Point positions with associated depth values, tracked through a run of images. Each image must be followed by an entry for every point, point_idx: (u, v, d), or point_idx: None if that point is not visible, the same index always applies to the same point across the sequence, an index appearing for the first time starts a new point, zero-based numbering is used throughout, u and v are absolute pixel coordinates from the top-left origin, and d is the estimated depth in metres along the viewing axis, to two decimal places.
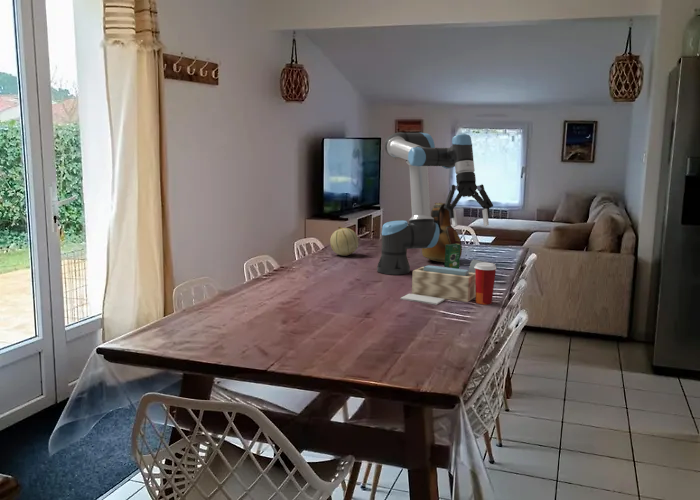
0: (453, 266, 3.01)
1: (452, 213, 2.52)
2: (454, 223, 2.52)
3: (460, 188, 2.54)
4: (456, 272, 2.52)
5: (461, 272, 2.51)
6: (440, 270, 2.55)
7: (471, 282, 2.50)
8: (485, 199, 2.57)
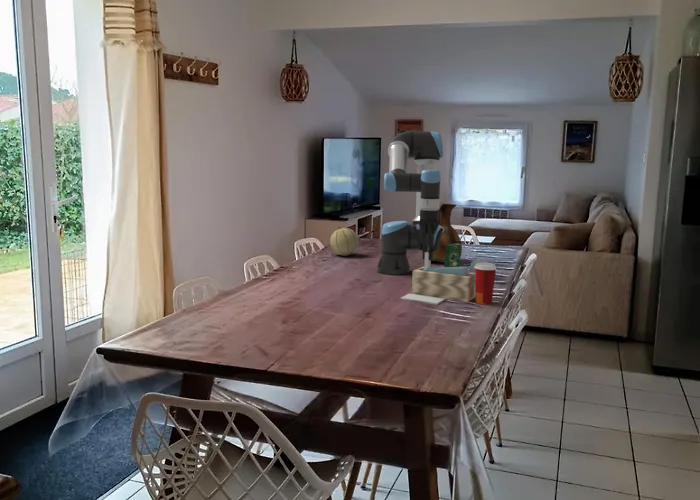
0: (453, 266, 3.01)
1: (424, 255, 2.59)
2: None
3: (421, 225, 2.57)
4: (455, 270, 2.52)
5: (460, 269, 2.51)
6: (439, 270, 2.55)
7: (471, 282, 2.50)
8: None
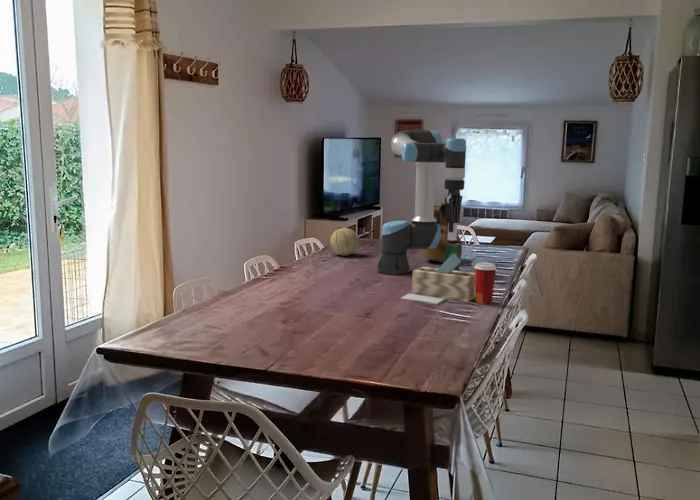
0: None
1: None
2: None
3: None
4: (445, 263, 2.53)
5: (448, 259, 2.52)
6: None
7: (471, 282, 2.50)
8: None
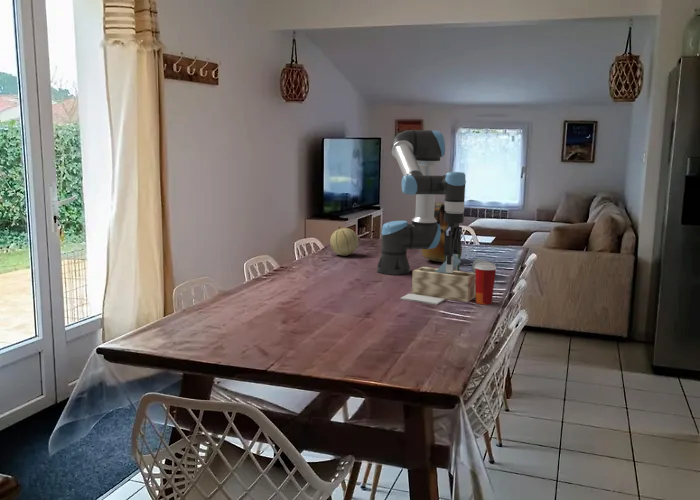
0: None
1: None
2: None
3: None
4: (445, 263, 2.53)
5: None
6: None
7: (471, 282, 2.50)
8: None
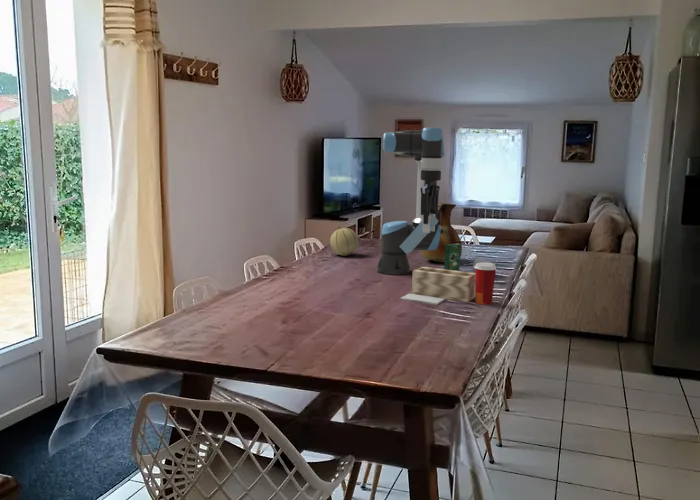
0: (453, 266, 3.01)
1: None
2: None
3: None
4: (422, 222, 2.44)
5: None
6: (411, 235, 2.47)
7: (471, 282, 2.50)
8: None
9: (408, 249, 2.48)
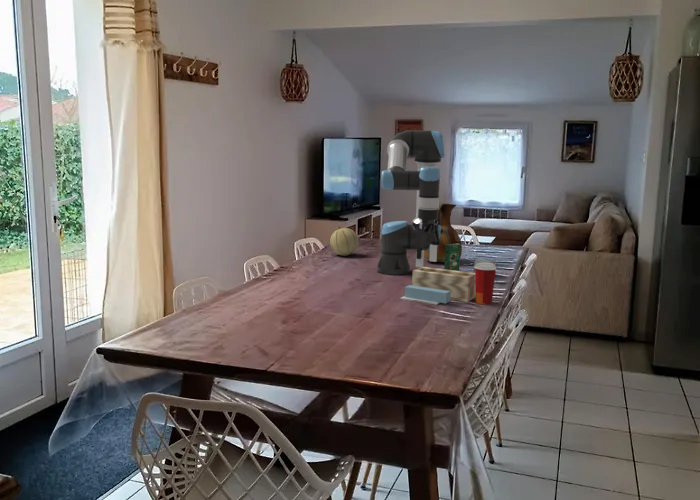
0: (453, 266, 3.01)
1: None
2: None
3: None
4: (437, 293, 2.44)
5: (442, 293, 2.43)
6: (421, 291, 2.48)
7: (471, 282, 2.50)
8: None
9: (409, 296, 2.51)
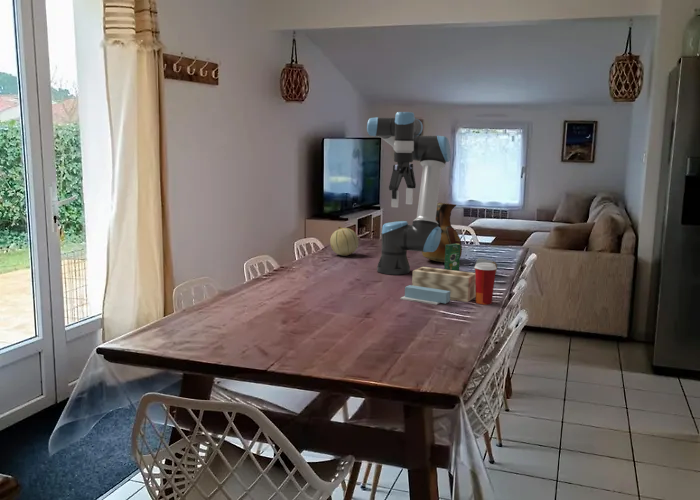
0: (453, 266, 3.01)
1: None
2: None
3: None
4: (437, 293, 2.44)
5: (442, 293, 2.43)
6: (421, 291, 2.48)
7: (471, 282, 2.50)
8: None
9: (409, 296, 2.51)
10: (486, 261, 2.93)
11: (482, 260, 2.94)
